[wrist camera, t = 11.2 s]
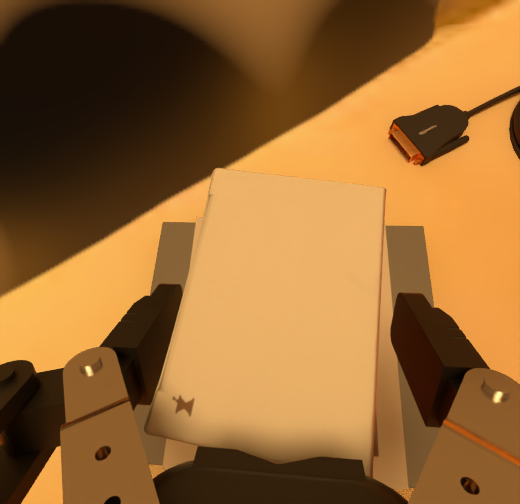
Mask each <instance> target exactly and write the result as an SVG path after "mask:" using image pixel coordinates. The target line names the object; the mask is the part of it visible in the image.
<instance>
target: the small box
mask: <svg viewBox="0 0 520 504" xmlns="http://www.w3.org/2000/svg"><path fill="white" fill-rule="evenodd" d="M385 197H386V189H385V188H383V187H376V186H368V185H361V184H353V183H345V182H336V181H326V180H317V179H309V178H300V177H291V176H282V175H273V174H264V173H256V172H247V171H239V170H231V169H223V168H216V169H215V170H213V173H212V178H211V183H210V187H209V193H208V198H207V202H206V207H205V211H204V215H203V219H202V223H201V227H200V231H199V235H198V239H197V243H196V247H195V251H194V254H193V258H192V262H191V266H190V270H189V274H188V277H187V281H186V285H185V289H184V293H183V296H182V300H181V304H180V308H179V311H178V315H177V319H176V323H175V327H174V330H173V334H172V337H171V342H170V345H169V348H168V352H167V355H166V359H165V362H164V366H163V369H162V373H161V376H160V380H159V383H158V385H157V388H156V391H155V394H154V397H153V400H152V404H151V407H150V410H149V413H148V416H147V420H146V423H145V426H144V431H145V433H146V434H149V435H153V436H157V437H162V438H167V439H171V440H175V441H180V442H184V443H189V444H193V445H198V446H202V447H214V448H226V449H237V450H240V451H242V452H245V453H248V454H251V455H253V456H256V457H259V458H262V459H264V460H267V461H270V462H274V463H278V464H282V463H288V462H293V461H299V460H304V459H309V458H315V457H320V456H321V457H333V458H345V459H357V460H362V461H363V466H364V471H365V475H366V476H369V477H372V478H373V459H374V438H375V416H376V391H377V368H378V348H379V326H380V304H381V282H382V260H383V241H384V217H385Z"/></svg>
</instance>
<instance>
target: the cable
mask: <svg viewBox="0 0 520 504" xmlns="http://www.w3.org/2000/svg"><path fill="white" fill-rule="evenodd" d="M518 92H520V86H519V87H516V88H514V89H512V90H510V91H508V92H506V93H504V94H502V95H500V96H498V97H496V98H494V99H491V100H489V101H488V102H486V103H484V104H482V105H480V106H478V107H476V108H474V109H472V110H470V111H468V112H467V111H462V110H460V109H459V108H457V107H454V106H451V105H443V106H439V105H435V106H433V107H431V108H428V109H426V110H424V111H421V112H419V113H417V114H415V115H411V116H401V117H399V118H397V119H394V120H393V123H392V125H391V127H390V130H389V133H390V135H389V138H391V137H392V138H393V139H394V138H395V139H394V141H395V142H396V143H397V142H398V143H397V144H398V145H399V144H400V145H399V147H400V148H401V149H402V148H403V149H402V150H403V151H404V150H405V151H404V153H406V152H407V154H406V155H407V156H408V157H409V156H411V158H410V160H409V161H408V162H410V161H412V160H414V159H415V161H414V163H415V164H418V163H419V164H420V165H421V166H423V165H425V164H427V163H429V162H430V161H431V160H433V159H435V158H437V157H439V156H441V155H443V154H445V153H447V152H449V151H451V150H453V149H455V148H457V147H459V146H460V145H462V144H464V143H466V142H468V141H469V137H468V136H467V135H466V136H463V137H461V138H459V137H460V136H461V135H462V134H463V132H464V131H465V130H466V128H467V126H468V119H469V117H470V116H471V115H473V114H475V113H477V112H479V111H481V110H483V109H485V108H487V107H489V106H490V105H493V104H495V103H497V102H499V101H501V100H503V99H505V98H507V97H509V96H511V95H513V94H515V93H518ZM509 131H510V140H511V143H512V146H513V149H514V151H515V153H516V154H517V156H518V158H519V159H520V102H519V103H518V105H517V106H516V108H515V109H514V112H513V114H512V117H511V120H510V128H509ZM393 136H394V137H393ZM389 138H388V139H389ZM458 138H459V139H458ZM391 140H392V139H391ZM396 140H397V141H396ZM394 141H393V142H394ZM394 144H395V143H394ZM396 146H397V145H396ZM401 146H402V147H401ZM399 147H398V148H399ZM399 150H400V149H399ZM401 152H402V151H401ZM404 153H403V154H404Z"/></svg>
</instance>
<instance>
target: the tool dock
mask: <svg viewBox="0 0 520 504" xmlns="http://www.w3.org/2000/svg"><path fill="white" fill-rule="evenodd" d="M202 219H203V217H196V223H185V222H163V224H162V230H161V235H160V241H159V247H158V253H157V258H156V264H155V270H154V275H153V281H152V287H151V293H150V296H151V294H152V293H153V292H154V290H155V289H156V288H157V286H158V285H159V284H161V283H163V284H180V285H181V287H182V291H183V293H184V289H185V285H186V281H187V277H188V274H189V270H190V266H191V262H192V258H193V254H194V251H195V247H196V243H197V239H198V235H199V231H200V227H201V223H202ZM400 292H403V293H422V294H423V295H424V296H425V297H426V299H427V300H428V302H429V303H430V305H431V306H432V308H434V303H433V296H432V288H431V281H430V273H429V266H428V258H427V251H426V243H425V235H424V228H423V226H385V220H384V241H383V260H382V282H381V304H380V326H379V348H378V368H377V391H376V416H375V438H374V459H373V478H374V479H376V480H378V481H380V482H382V483H383V484H385V485H387V486H388V487H390V488H392V489H399V490H409V489H408V487H409V488H415V486H416V484H417V482H418V479H419V477H420V475H421V472H422V470H423V468H424V465H425V463H426V461H427V458H428V456H429V454H430V452H431V449H432V447H433V445H434V442H435V440H436V438H437V435H438V433H439V431H440V428H437V427H426V426H425V424H424V421H423V419H422V416H421V414H420V412H419V409H418V407H417V404H416V402H415V399H414V397H413V395H412V392H411V390H410V387H409V385H408V382H407V380H406V378H405V375H404V373H403V370H402V368H401V365H400V363H399V361H398V358H397V356H396V353H395V351H394V348H393V346H392V343H391V337H390V328H391V323H392V318H393V312H394V307H395V302H396V298H397V295H398V293H400ZM151 404H152V402H151ZM151 404H150V405H137V406H136V408H135V409H134V411H133V413H134V417H135V420H136V424H137V427H138V431H139V434H140V438H141V441H142V444H143V448H144V451H145V455H146V458H147V462H148V464H154V465H163V467H162V468H168V469H169V468H172V467H174V466H176V465H178V464H181V463H184V462H188V461H192V460H194V458H195V454H196V451H197V447H198V445H193V444H189V443H184V442H180V441H175V440H171V439H167V438H162V437H157V436H153V435H149V434H146V433H145V431H144V426H145V423H146V420H147V416H148V413H149V410H150V407H151ZM272 463H274V462H272ZM276 464H278V463H276Z"/></svg>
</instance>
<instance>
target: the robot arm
mask: <svg viewBox="0 0 520 504" xmlns="http://www.w3.org/2000/svg"><path fill="white" fill-rule="evenodd" d="M182 296H183V291H182V287H181V285H180V284H163V283H161V284H159V285H158V286H157V288H156V289H155V290H154V292H153V293H152V294H151V296H144V297H143V298H141V299H140V300H138V301H137V302H135V303H134V304H133V305H132V306H131V308H130V309H129V310H128V311H127V314H125V315H124V316H123V318H122V319H121V322H119V323H118V324H117V325H116V326H115V328H114V329H113V330H112V331H111V333H110V334H109V335H108V336H107V338H106V339H105V340H104V341H103V343H102V344H101V345H100V346H99V347H96V348H91V349H88V350H85V351H83V352H81V353H79V354H77V355H76V356H74V357H73V358H72V359H71V360H70V361H69V362H68V363H67V364H66V365H65V367H64V368H61V369H56V370H50V371H45V372H39V373H36V371H35V369H34V366H33V364H32V363H31V362H29V361H26V360H17V361H11V362H7V363H4V364H2V365H0V504H21V503H22V501H23V499H24V498H25V496H26V495H27V493H28V491H29V490H30V488H31V487H32V485H33V484H34V482H35V480H36V479H37V477H38V476H39V474H40V472H41V471H42V469H43V468H44V466H45V464H46V463H47V461H48V460H49V458H50V457H51V455H52V453H53V452H54V450H55V449H56V447H57V446H61V463H62V485H63V504H520V384H518V383H517V382H516V381H514V380H513V379H512V378H510V377H508V376H506V375H504V374H502V373H500V372H497V371H494V370H491V369H490V368H489V367H488V366H487V364H486V363H485V362H484V360H483V359H482V357H481V356H480V355H479V353H478V352H477V351H476V349H475V348H474V347H473V345H472V344H471V343H470V341H469V340H468V339H466V336H465V335H464V333H463V332H462V331H461V330H459V327H458V325H457V324H456V323H455V321H454V320H453V319H452V317H451V316H449V315H448V314H446V313H445V312H444V311H442V310H441V309H439V308H432V306H431V305H430V303H429V302H428V300H427V299H426V297H425V296H424V295H423V294H422V293H403V292H400V293H398V295H397V298H396V302H395V307H394V312H393V318H392V323H391V328H390V337H391V343H392V346H393V348H394V351H395V353H396V356H397V358H398V361H399V363H400V365H401V368H402V370H403V373H404V375H405V378H406V380H407V382H408V385H409V387H410V390H411V392H412V395H413V397H414V399H415V402H416V404H417V407H418V409H419V412H420V414H421V416H422V419H423V421H424V424H425V426H426V427H437V428H440V431H439V433H438V435H437V438H436V440H435V442H434V445H433V447H432V449H431V452H430V454H429V456H428V458H427V461H426V463H425V465H424V468H423V470H422V472H421V475H420V477H419V479H418V482H417V484H416V486H415V489H414V491H413V493H412V495H411V498H410V500H409V502H408V501H407V500H406V499H405V498H403V497H402V496H401V495H400V494H398V493H397V492H396V491H394V490H393V489H392V488H390V487H388V486H387V485H385V484H383V483H382V482H380V481H378V480H376V479H374V478H372V477H369V476H366V475H365V471H364V466H363V461H362V460H357V459H345V458H333V457H321V456H320V457H315V458H309V459H304V460H299V461H293V462H288V463H282V464H276V463H272V462H270V461H267V460H264V459H262V458H259V457H256V456H253V455H251V454H248V453H245V452H242V451H240V450H237V449H226V448H214V447H202V446H198V447H197V451H196V454H195V458H194V460H192V461H188V462H184V463H181V464H178V465H176V466H174V467H172V468H169V469H168V470H166V471H164V472H162V473H161V474H159V475H158V476H156V477H155V478H154V479H152V476H151V472H150V469H149V465H148V462H147V458H146V455H145V451H144V448H143V444H142V441H141V438H140V434H139V431H138V427H137V424H136V420H135V417H134V413H133V411H134V409H135V408H136V406H137V405H150V404H151V402H152V400H153V397H154V394H155V391H156V388H157V385H158V383H159V380H160V376H161V373H162V369H163V366H164V362H165V359H166V355H167V352H168V348H169V345H170V342H171V337H172V334H173V330H174V327H175V323H176V319H177V315H178V311H179V308H180V304H181V300H182Z"/></svg>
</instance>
